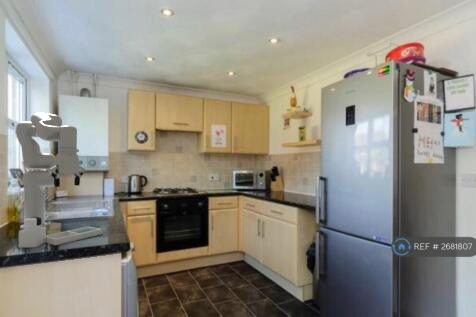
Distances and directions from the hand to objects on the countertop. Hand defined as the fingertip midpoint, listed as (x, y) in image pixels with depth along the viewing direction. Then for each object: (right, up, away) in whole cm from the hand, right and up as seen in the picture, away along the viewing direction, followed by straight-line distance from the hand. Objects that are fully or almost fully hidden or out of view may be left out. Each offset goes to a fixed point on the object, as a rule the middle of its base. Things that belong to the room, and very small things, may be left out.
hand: (67, 186), depth 137 cm
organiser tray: (+4, -25, -3) cm, 25 cm away
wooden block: (-7, -25, +1) cm, 26 cm away
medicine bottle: (-6, -25, -15) cm, 30 cm away
